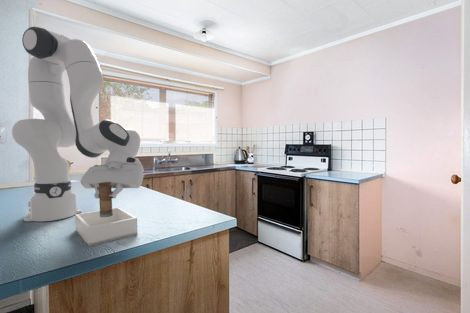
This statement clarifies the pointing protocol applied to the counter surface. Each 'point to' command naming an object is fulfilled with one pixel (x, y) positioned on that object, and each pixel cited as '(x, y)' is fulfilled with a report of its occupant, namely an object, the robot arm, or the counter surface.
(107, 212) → the brown wooden block
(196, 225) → the counter surface
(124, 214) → the bin
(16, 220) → the counter surface
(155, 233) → the counter surface
